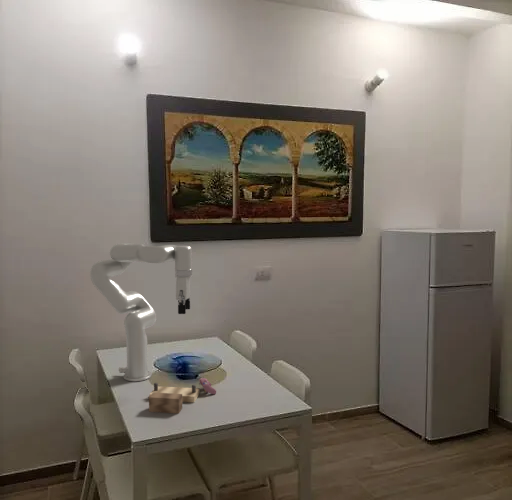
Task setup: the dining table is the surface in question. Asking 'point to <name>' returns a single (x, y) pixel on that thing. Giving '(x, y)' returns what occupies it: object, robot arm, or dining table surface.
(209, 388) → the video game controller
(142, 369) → the robot arm
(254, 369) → the dining table surface
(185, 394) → the peg stand
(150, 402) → the walnut bar
